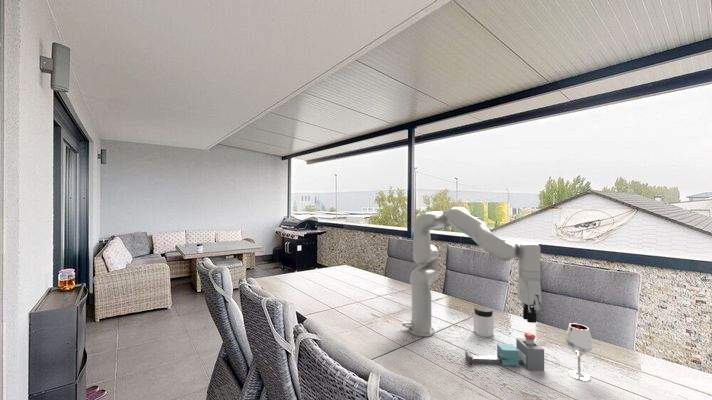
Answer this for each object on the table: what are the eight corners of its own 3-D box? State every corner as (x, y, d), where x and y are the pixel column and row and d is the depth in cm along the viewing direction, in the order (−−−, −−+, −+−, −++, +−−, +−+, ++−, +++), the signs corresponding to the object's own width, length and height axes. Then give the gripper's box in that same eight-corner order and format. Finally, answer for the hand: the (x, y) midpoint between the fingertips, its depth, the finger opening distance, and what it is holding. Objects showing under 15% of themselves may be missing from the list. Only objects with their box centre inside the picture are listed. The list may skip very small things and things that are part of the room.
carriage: (502, 365, 114) (502, 350, 114) (497, 358, 119) (497, 343, 119) (518, 365, 113) (518, 350, 113) (512, 358, 118) (512, 344, 118)
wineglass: (560, 369, 111) (559, 322, 112) (580, 369, 112) (579, 321, 112) (578, 383, 103) (577, 331, 103) (599, 381, 104) (599, 331, 104)
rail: (469, 365, 114) (469, 356, 114) (465, 358, 119) (465, 350, 119) (525, 367, 113) (525, 358, 113) (518, 360, 118) (518, 352, 118)
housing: (527, 370, 111) (527, 348, 111) (515, 357, 120) (515, 338, 120) (544, 370, 111) (544, 349, 111) (531, 358, 120) (531, 338, 120)
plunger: (527, 349, 114) (527, 336, 114) (522, 345, 117) (522, 332, 118) (536, 349, 114) (536, 336, 114) (531, 345, 117) (531, 332, 117)
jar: (485, 338, 137) (485, 313, 137) (470, 332, 144) (470, 307, 144) (496, 334, 142) (496, 309, 142) (481, 328, 149) (481, 304, 149)
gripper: (510, 269, 124) (510, 313, 124) (530, 279, 108) (530, 329, 108) (528, 269, 124) (528, 313, 123) (551, 279, 108) (551, 329, 107)
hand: (529, 320), depth 116 cm, fingers closed
